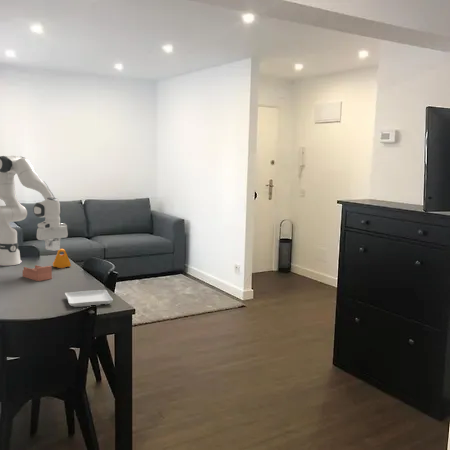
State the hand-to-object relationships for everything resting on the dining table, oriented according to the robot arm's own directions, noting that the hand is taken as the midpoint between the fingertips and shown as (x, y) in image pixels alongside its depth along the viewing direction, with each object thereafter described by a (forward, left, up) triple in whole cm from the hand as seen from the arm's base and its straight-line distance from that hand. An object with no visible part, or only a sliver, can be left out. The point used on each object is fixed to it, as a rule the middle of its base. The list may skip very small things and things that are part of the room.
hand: (52, 245), depth 311 cm
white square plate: (+68, -26, -17) cm, 75 cm away
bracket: (-11, +14, -17) cm, 25 cm away
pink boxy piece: (+6, -15, -17) cm, 23 cm away
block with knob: (0, 0, -2) cm, 2 cm away
